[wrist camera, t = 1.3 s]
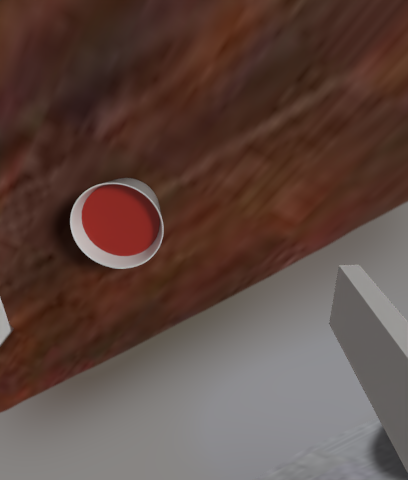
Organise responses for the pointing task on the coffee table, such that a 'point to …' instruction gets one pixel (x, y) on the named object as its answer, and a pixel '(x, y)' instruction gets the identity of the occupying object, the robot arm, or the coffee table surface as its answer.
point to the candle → (118, 223)
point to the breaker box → (8, 334)
